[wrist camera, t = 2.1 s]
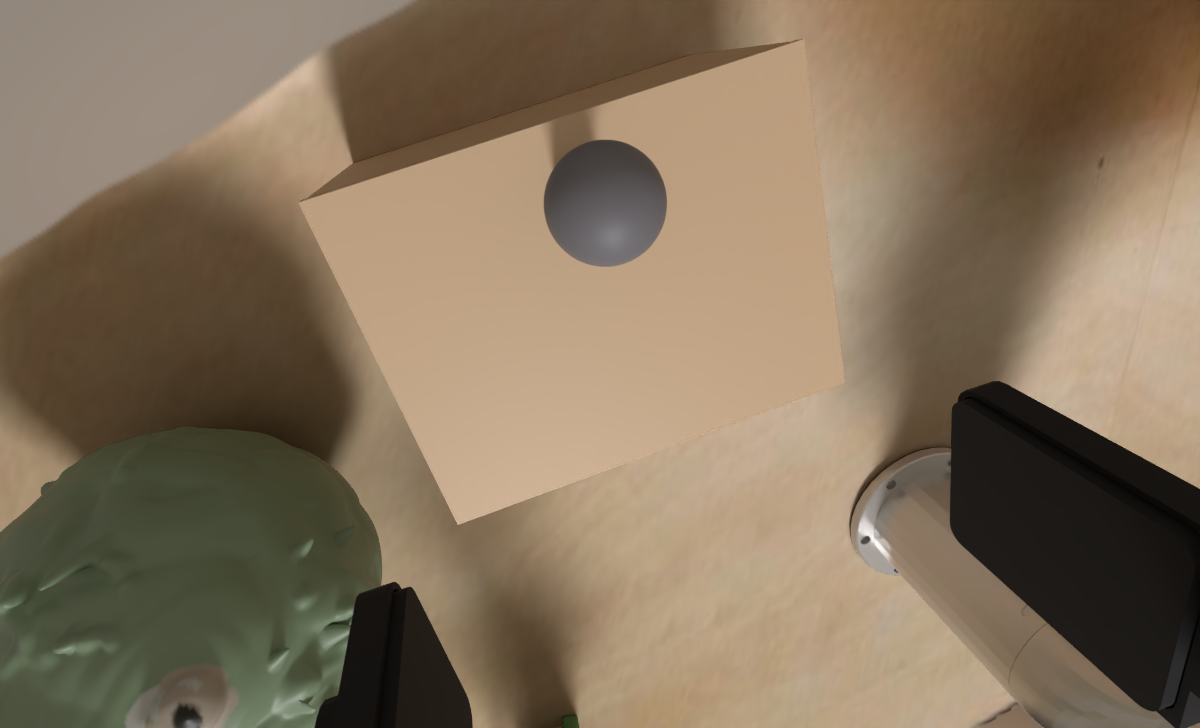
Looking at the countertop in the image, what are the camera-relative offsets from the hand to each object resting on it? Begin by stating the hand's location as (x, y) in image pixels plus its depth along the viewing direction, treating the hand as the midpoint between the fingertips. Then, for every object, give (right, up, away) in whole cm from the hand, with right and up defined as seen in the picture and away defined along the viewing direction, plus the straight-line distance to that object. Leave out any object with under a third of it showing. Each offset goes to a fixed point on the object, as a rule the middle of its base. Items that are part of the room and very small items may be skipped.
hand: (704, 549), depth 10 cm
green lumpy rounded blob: (-25, -5, +31) cm, 40 cm away
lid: (-1, +6, +18) cm, 19 cm away
